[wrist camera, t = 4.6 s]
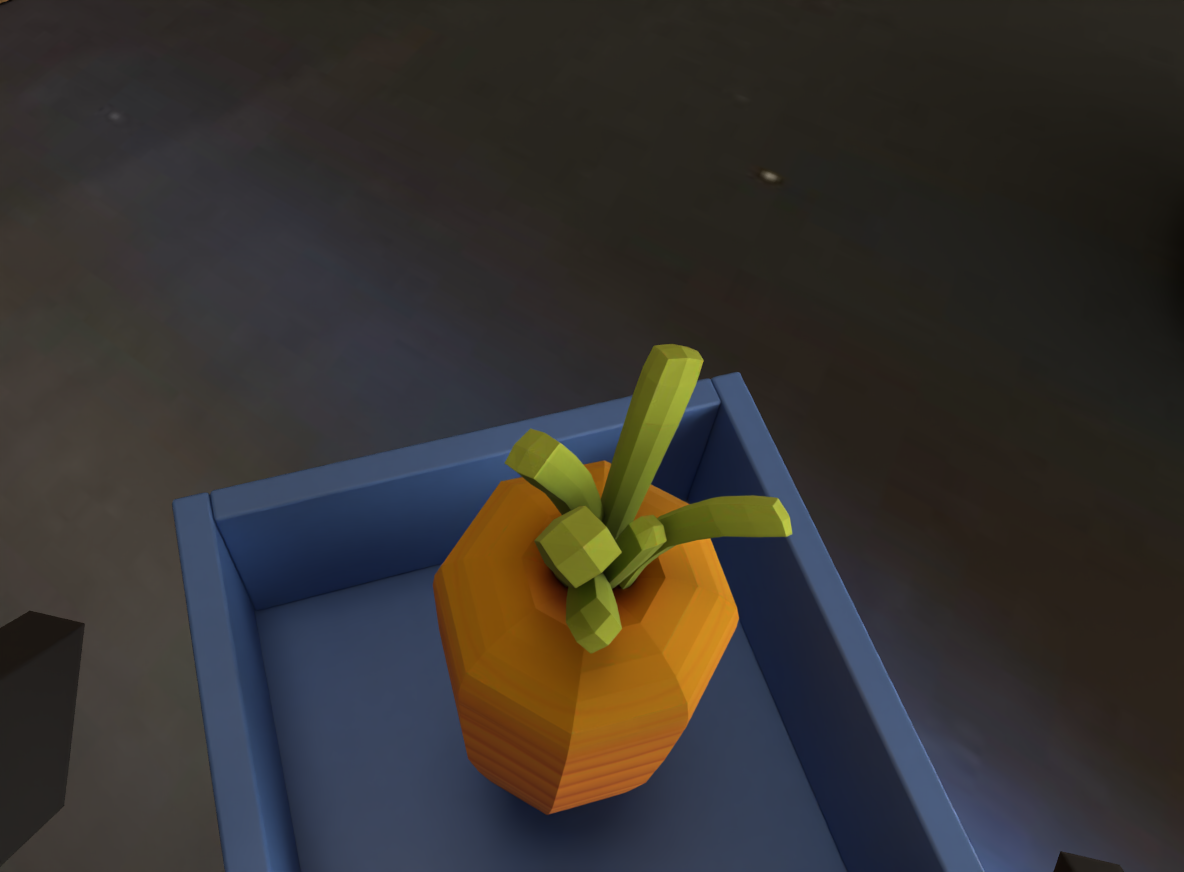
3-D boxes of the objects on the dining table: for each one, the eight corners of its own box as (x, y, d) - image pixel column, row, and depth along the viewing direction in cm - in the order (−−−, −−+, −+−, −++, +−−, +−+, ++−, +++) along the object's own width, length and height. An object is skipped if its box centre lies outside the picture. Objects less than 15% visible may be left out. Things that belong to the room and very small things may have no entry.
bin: (322, 1212, 21) (277, 1243, 16) (223, 602, 27) (170, 498, 23) (916, 974, 24) (1022, 942, 19) (699, 481, 31) (739, 369, 26)
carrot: (566, 633, 27) (645, 227, 15) (692, 789, 25) (907, 478, 13) (404, 750, 25) (333, 396, 13) (528, 928, 23) (590, 724, 11)
